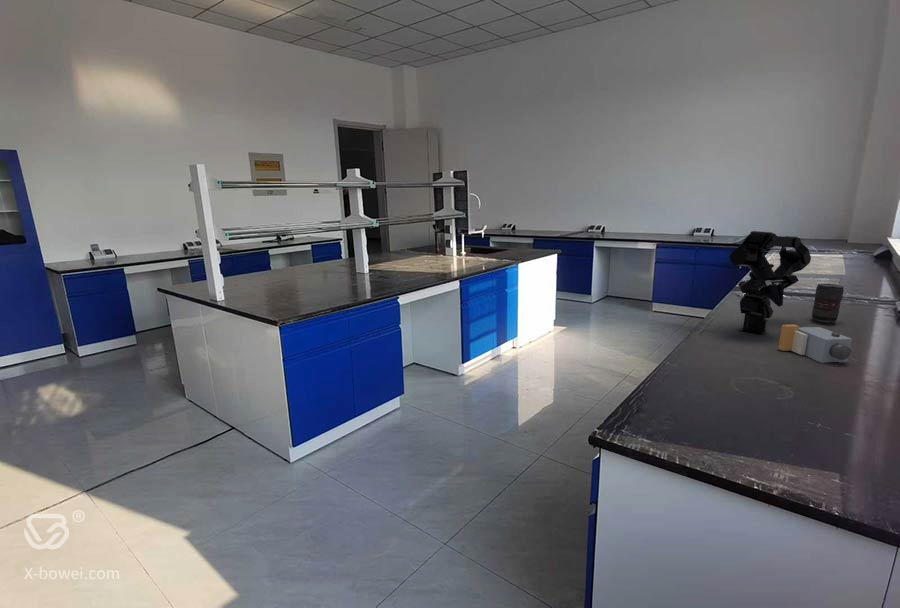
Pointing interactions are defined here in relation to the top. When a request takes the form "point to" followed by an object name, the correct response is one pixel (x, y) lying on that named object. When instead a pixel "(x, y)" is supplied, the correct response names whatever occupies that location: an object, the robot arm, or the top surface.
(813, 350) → the grey knobbed box
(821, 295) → the camera lens
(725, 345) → the top surface
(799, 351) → the side door
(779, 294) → the robot arm
